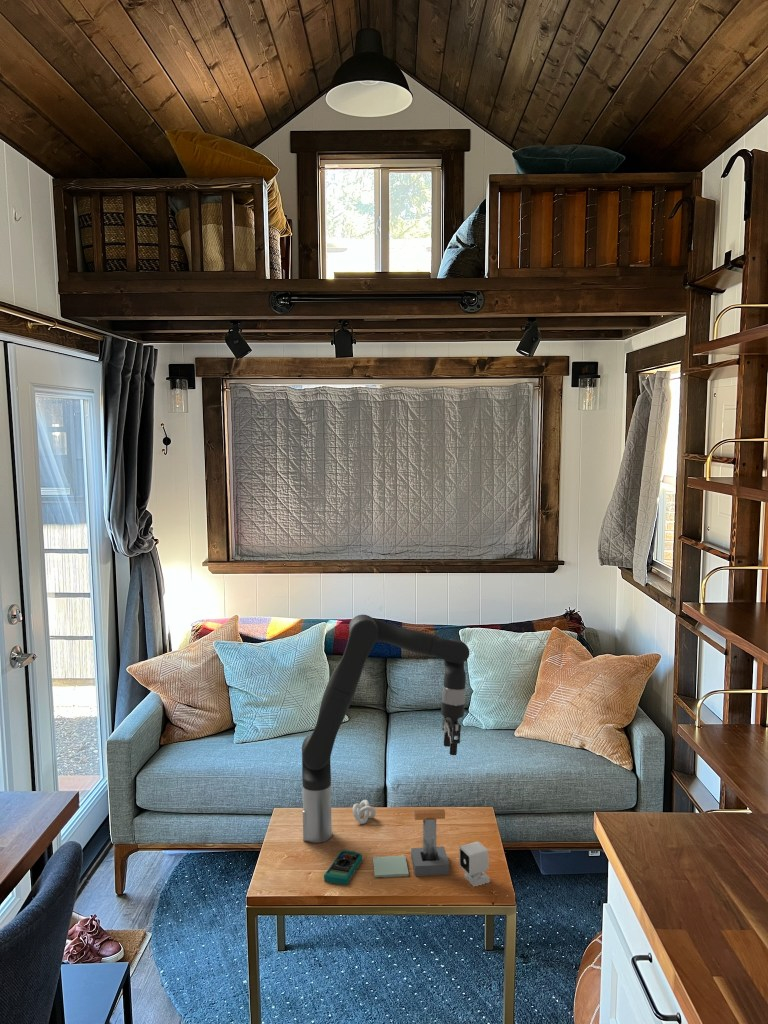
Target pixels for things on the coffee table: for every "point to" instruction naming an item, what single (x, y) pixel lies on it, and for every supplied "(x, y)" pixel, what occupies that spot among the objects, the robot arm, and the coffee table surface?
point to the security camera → (474, 863)
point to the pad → (390, 866)
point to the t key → (429, 831)
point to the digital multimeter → (343, 867)
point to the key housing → (429, 863)
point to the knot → (363, 811)
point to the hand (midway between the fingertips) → (449, 750)
